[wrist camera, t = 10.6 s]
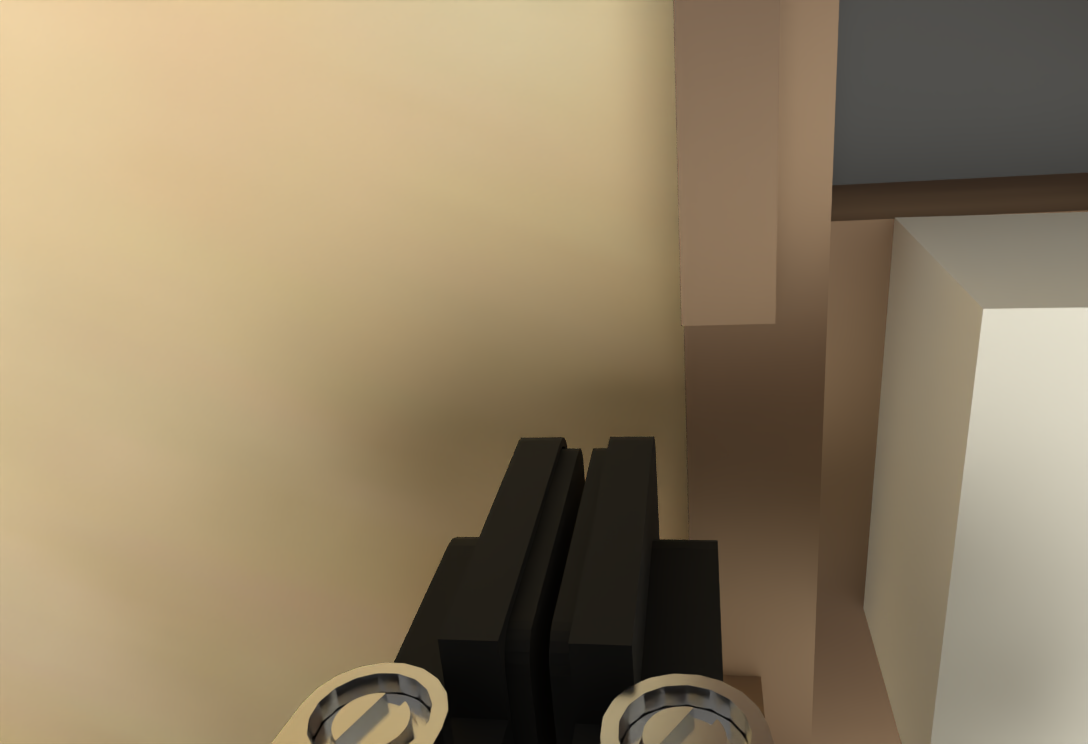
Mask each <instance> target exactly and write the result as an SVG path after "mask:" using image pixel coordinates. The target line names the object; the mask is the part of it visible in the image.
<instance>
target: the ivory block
mask: <svg viewBox="0 0 1088 744" xmlns="http://www.w3.org/2000/svg"><path fill="white" fill-rule="evenodd" d="M863 608H864V612H865V615H866V619H867V622H868V626H869V630H870V633H871V637H872V640H873V644H874V647H875V651H876V654H877V658H878V661H879V665H880V668H881V672H882V676H883V679H884V683H885V686H886V690H887V693H888V697H889V700H890V704H891V707H892V711H893V715H894V718H895V722H896V725H897V729H898V732H899V736H900V739H901V743H902V744H1088V212H1066V213H1032V214H999V215H965V216H931V217H897V218H895V221H894V234H893V246H892V259H891V271H890V284H889V296H888V308H887V321H886V333H885V346H884V358H883V371H882V383H881V396H880V408H879V420H878V433H877V445H876V458H875V470H874V483H873V495H872V508H871V520H870V533H869V545H868V557H867V570H866V582H865V595H864V607H863Z"/></svg>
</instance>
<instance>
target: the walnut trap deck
mask: <svg viewBox="0 0 1088 744" xmlns="http://www.w3.org/2000/svg"><path fill="white" fill-rule="evenodd" d="M673 2H674V42H675V83H676V124H677V165H678V206H679V246H680V287H681V326H684V347H685V389H686V432H687V475H688V518H689V540H718V559H719V584H720V609H721V635H722V660H723V682H724V683H726V684H728V685H730V686H732V687H734V688H736V689H738V690H740V691H741V692H743V693H744V694H745V695H746V696H747V697H748V698H749V699H750V700H752V701H753V702H754V703H755V704H756V705H757V706H758V707H759V709H760V711H761V712H762V714H763V716H764V718H765V720H766V722H767V724H768V726H769V729H770V732H771V735H772V739H773V742H774V744H902V743H901V739H900V736H899V732H898V729H897V725H896V722H895V718H894V715H893V711H892V707H891V704H890V700H889V697H888V693H887V690H886V686H885V683H884V679H883V676H882V672H881V668H880V665H879V661H878V658H877V654H876V651H875V647H874V644H873V640H872V637H871V633H870V630H869V626H868V622H867V619H866V615H865V612H864V608H863V607H864V595H865V582H866V570H867V557H868V545H869V533H870V520H871V508H872V495H873V483H874V470H875V458H876V445H877V433H878V420H879V408H880V396H881V383H882V371H883V358H884V346H885V333H886V321H887V308H888V296H889V284H890V271H891V259H892V246H893V234H894V221H895V218H897V217H931V216H965V215H999V214H1032V213H1066V212H1088V0H673Z"/></svg>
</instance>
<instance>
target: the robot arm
mask: <svg viewBox="0 0 1088 744" xmlns="http://www.w3.org/2000/svg"><path fill="white" fill-rule="evenodd" d="M271 744H774V742H773V739H772V735H771V732H770V729H769V726H768V724H767V722H766V720H765V718H764V716H763V714H762V712H761V711H760V709H759V707H758V706H757V705H756V704H755V703H754V702H753V701H752V700H750V699H749V698H748V697H747V696H746V695H745V694H744V693H743V692H741V691H740V690H738V689H736V688H734V687H732V686H730V685H728V684H726V683H724V682H723V660H722V635H721V609H720V584H719V559H718V540H659V518H658V495H657V472H656V451H655V439H654V437H610V440H609V444H608V448H594V449H593V451H592V455H591V460H590V464H589V468H588V472H587V477H586V481H585V477H584V465H583V455H582V451H581V449H567V444H566V440H565V438H563V437H551V438H521V439H520V440H519V442H518V444H517V447H516V449H515V452H514V454H513V457H512V459H511V461H510V464H509V466H508V469H507V471H506V474H505V476H504V478H503V481H502V483H501V486H500V488H499V491H498V493H497V495H496V498H495V500H494V503H493V505H492V508H491V510H490V512H489V515H488V517H487V520H486V522H485V525H484V527H483V529H482V532H481V534H480V537H456V538H453V539H452V540H451V542H450V543H449V545H448V547H447V549H446V551H445V553H444V555H443V558H442V560H441V562H440V564H439V566H438V568H437V571H436V573H435V575H434V577H433V579H432V581H431V584H430V586H429V588H428V590H427V592H426V594H425V596H424V599H423V601H422V603H421V605H420V607H419V609H418V612H417V614H416V616H415V618H414V620H413V622H412V625H411V627H410V629H409V631H408V633H407V635H406V637H405V640H404V642H403V644H402V646H401V648H400V650H399V653H398V655H397V657H396V659H395V661H394V663H378V664H372V665H366V666H361V667H358V668H355V669H352V670H350V671H347V672H345V673H342V674H339V675H337V676H335V677H334V678H332V679H331V680H329V681H328V682H326V683H324V684H323V685H321V686H320V687H318V688H317V689H316V690H315V691H314V692H313V693H312V694H311V695H310V696H309V697H308V698H307V699H306V700H305V701H304V702H303V703H302V704H301V705H300V706H299V708H298V709H297V710H296V712H295V713H294V714H293V716H292V717H291V718H290V719H289V721H288V722H287V723H286V725H285V726H284V727H283V728H282V730H281V731H280V732H279V734H278V735H277V736H276V737H275V739H274V740H273V741H272V743H271Z"/></svg>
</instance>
